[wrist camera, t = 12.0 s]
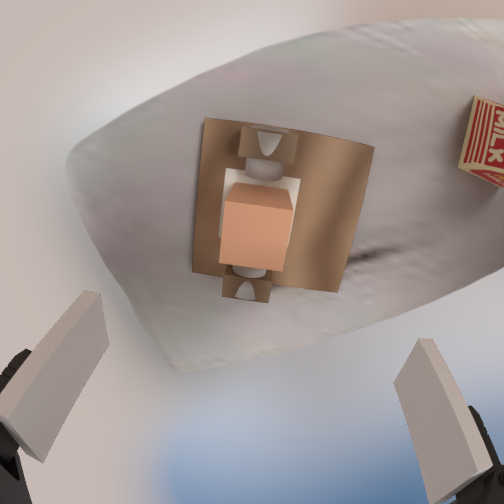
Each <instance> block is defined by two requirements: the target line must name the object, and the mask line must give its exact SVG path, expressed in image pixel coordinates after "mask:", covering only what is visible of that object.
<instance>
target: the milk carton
mask: <svg viewBox="0 0 504 504" xmlns="http://www.w3.org/2000/svg"><path fill="white" fill-rule="evenodd" d="M457 168H459V169H462V170H464V171H466V172H469V173H471V174H473V175H475V176H477V177H480V178H482V179H484V180H486V181H488V182H490V183H492V184H495V185H497V186H499V187H501V188H504V105H501V104H498V103H495V102H493V101H490V100H487V99H484V98H481V97H478V96H475V95H474V100H473V105H472V109H471V114H470V118H469V122H468V126H467V131H466V135H465V139H464V144H463V148H462V152H461V156H460V160H459V163H458V167H457Z"/></svg>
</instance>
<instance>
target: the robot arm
mask: <svg viewBox="0 0 504 504" xmlns="http://www.w3.org/2000/svg"><path fill="white" fill-rule="evenodd" d="M108 346H109V341H108V336H107V331H106V326H105V320H104V314H103V308H102V302H101V296H100V294H98V293H94V292H90V291H84V292H83V293H82V294H81V295H80V296H79V297H78V298H77V300H76V301H75V302H74V303H73V304H72V305H71V306H70V307H69V309H68V310H67V311H66V312H65V313H64V314H63V315H62V317H61V318H60V319H59V320H58V321H57V323H55V325H54V326H53V327H52V328H51V329H50V331H49V332H48V333H47V334H46V335H45V337H44V338H43V339H42V340H41V341H40V343H39V344H38V345H37V346H36V348H35V349H34V350H33V351H30V350H28V349H25V350H24V351H22V352H20V353H19V354H17V355H16V356H15V357H14V358H13V359H12V361H11V362H10V363H9V364H8V367H6V368H5V369H4V371H3V372H2V375H0V504H32V502H31V498H30V495H29V492H28V489H27V485H26V481H25V478H24V474H23V470H22V466H21V462H20V457H19V455H18V452H17V450H18V448H19V446H20V447H21V448H22V449H23V451H24V452H25V453H26V454H27V455H29V456H31V457H33V458H34V459H36V460H38V461H40V462H42V463H44V460H45V458H46V456H47V454H48V452H49V450H50V448H51V446H52V444H53V443H54V441H55V439H56V437H57V435H58V433H59V431H60V429H61V427H62V425H63V424H64V422H65V420H66V418H67V416H68V414H69V412H70V411H71V409H72V407H73V405H74V403H75V401H76V400H77V398H78V396H79V394H80V393H81V391H82V389H83V387H84V386H85V384H86V382H87V381H88V379H89V377H90V375H91V374H92V372H93V370H94V369H95V367H96V365H97V364H98V362H99V360H100V359H101V357H102V355H103V354H104V352H105V350H106V349H107V347H108ZM394 385H395V388H396V391H397V394H398V397H399V400H400V403H401V406H402V409H403V412H404V415H405V418H406V421H407V425H408V427H409V430H410V434H411V437H412V441H413V444H414V448H415V451H416V455H417V458H418V462H419V465H420V469H421V473H422V477H423V481H424V485H425V488H426V492H427V496H428V501H429V504H438V503H441V502H445V501H447V500H448V499H450V498H451V497H452V496H454V495H456V500H454V501H453V502H451V503H450V504H504V465H501V463H500V461H499V459H498V456H497V454H496V451H495V449H494V447H493V444H492V442H491V439H490V437H489V435H487V430H486V428H485V427H484V426H483V425H484V424H483V421H482V419H481V417H480V415H479V414H478V412H477V411H476V410H475V409H474V408H473V407H472V406H467V404H466V402H465V399H464V397H463V395H462V393H461V392H460V389H459V387H458V385H457V383H456V381H455V380H454V378H453V376H452V374H451V372H450V370H449V368H448V366H447V364H446V363H445V361H444V359H443V357H442V355H441V354H440V352H439V350H438V348H437V346H436V345H435V343H434V341H433V339H422V338H421V339H420V338H419V339H418V340H417V342H416V344H415V346H414V348H413V350H412V352H411V354H410V355H409V357H408V359H407V361H406V362H405V364H404V366H403V368H402V369H401V371H400V373H399V374H398V376H397V378H396V379H395V381H394Z"/></svg>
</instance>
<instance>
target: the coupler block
mask: <svg viewBox="0 0 504 504" xmlns="http://www.w3.org/2000/svg"><path fill="white" fill-rule="evenodd" d="M293 213H294V210H293V206H292V202H291V198H290V194H289V191H288V189H282V188H275V187H269V186H261V185H254V184H247V183H239V182H235V183H234V185H233V187H232V189H231V191H230V193H229V194H228V196H227V198H226V200H225V205H224V215H223V225H222V235H221V246H220V257H219V263H223V264H230V265H237V266H245V267H252V268H259V269H266V270H274V271H281V272H282V271H283V266H284V261H285V256H286V250H287V245H288V240H289V234H290V229H291V224H292V218H293Z"/></svg>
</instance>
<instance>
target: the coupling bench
mask: <svg viewBox="0 0 504 504" xmlns="http://www.w3.org/2000/svg"><path fill="white" fill-rule="evenodd" d="M373 152H374V147H373V146H369V145H365V144H361V143H357V142H353V141H348V140H344V139H340V138H335V137H330V136H325V135H321V134H315V133H310V132H305V131H299V130H294V129H288V128H282V127H275V126H269V125H262V124H254V123H247V122H238V121H229V120H220V119H209V118H205V125H204V133H203V142H202V151H201V161H200V171H199V182H198V193H197V205H196V218H195V232H194V248H193V265H192V272H194V273H200V274H206V275H213V276H219V277H224V279H223V289H222V297H228V298H235V299H242V300H248V301H256V302H263V303H268V301H269V296H270V291H271V285H272V284H274V285H282V286H289V287H296V288H304V289H312V290H319V291H327V292H335V293H338V290H339V287H340V283H341V280H342V277H343V273H344V270H345V267H346V263H347V260H348V256H349V253H350V249H351V245H352V242H353V238H354V234H355V230H356V227H357V223H358V219H359V215H360V211H361V207H362V202H363V198H364V194H365V190H366V185H367V181H368V176H369V171H370V167H371V162H372V157H373ZM235 182H239V183H247V184H254V185H261V186H269V187H275V188H282V189H288V191H289V194H290V198H291V202H292V206H293V210H294V213H293V218H292V224H291V229H290V234H289V240H288V245H287V250H286V256H285V261H284V266H283V271H282V272H281V271H274V270H266V269H259V268H252V267H245V266H237V265H230V264H223V263H219V257H220V246H221V235H222V225H223V215H224V205H225V200H226V198H227V196H228V194H229V193H230V191H231V189H232V187H233V185H234V183H235Z"/></svg>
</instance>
